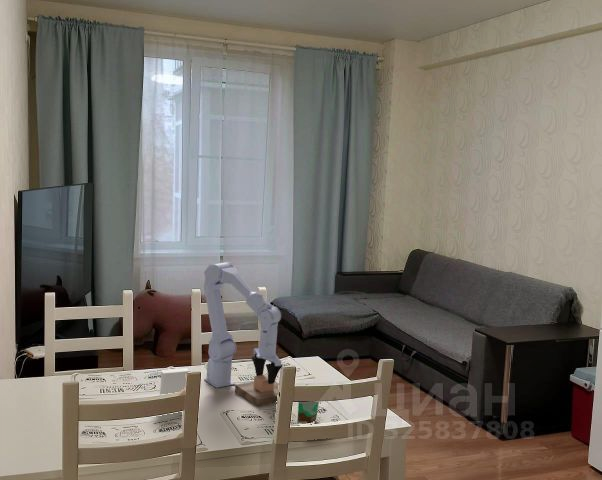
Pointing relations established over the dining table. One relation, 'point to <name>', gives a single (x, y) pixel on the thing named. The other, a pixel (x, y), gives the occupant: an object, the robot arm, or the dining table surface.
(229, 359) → the robot arm
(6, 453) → the dining table surface
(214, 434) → the dining table surface
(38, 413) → the dining table surface
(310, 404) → the food container
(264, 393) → the walnut base
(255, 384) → the terracotta block
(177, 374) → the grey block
